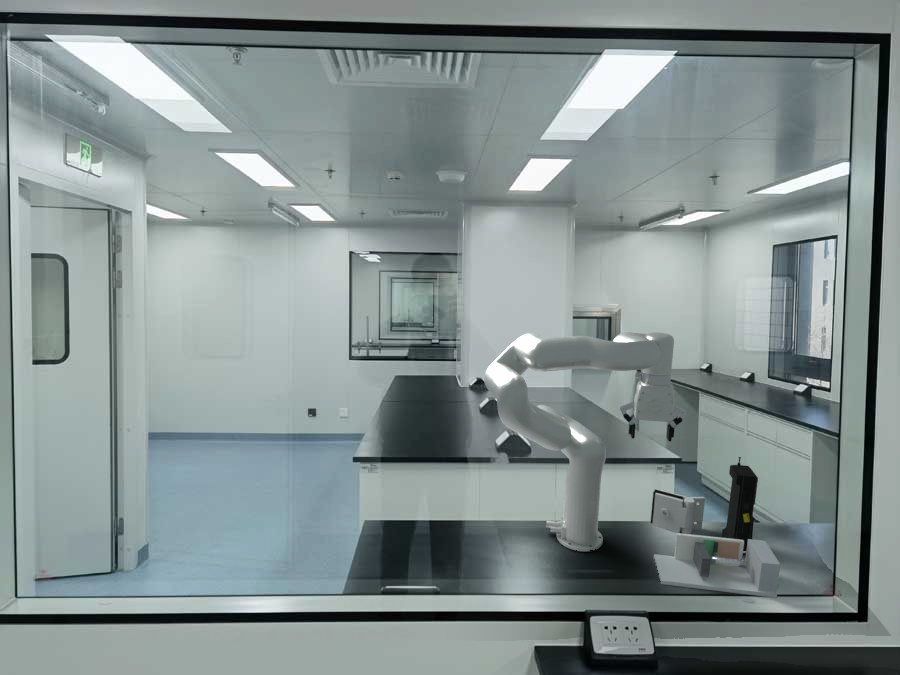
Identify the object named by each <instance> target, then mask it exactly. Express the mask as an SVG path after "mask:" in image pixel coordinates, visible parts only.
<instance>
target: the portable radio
mask: <svg viewBox="0 0 900 675" xmlns="http://www.w3.org/2000/svg"><path fill="white" fill-rule="evenodd" d="M741 458H742V457H740V456H738V462H737V464H730V466H729V472H728V474H729V476H730V477H731V486H730V492H729V493H730V495H729V501H728V502H729V503H728V511H727V518H726V519H727V520H726V526H725V528H723V529H722V532H721V538H730V539H739V540H744V547H743V551H746V550H747V543H748V539H753V534H754V533H753V532H754V520H755V517H754V516H753V514H754V509H755V508H754V507H755V504H756V498H757V491H758V490H757V488H758V483H759V482H758V481H759V480H758V479H759V477H758V476H757V475H756V473H755V472H754V471H753V469H752V468H751V467H750V466H749V465H742V463H741Z"/></svg>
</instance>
